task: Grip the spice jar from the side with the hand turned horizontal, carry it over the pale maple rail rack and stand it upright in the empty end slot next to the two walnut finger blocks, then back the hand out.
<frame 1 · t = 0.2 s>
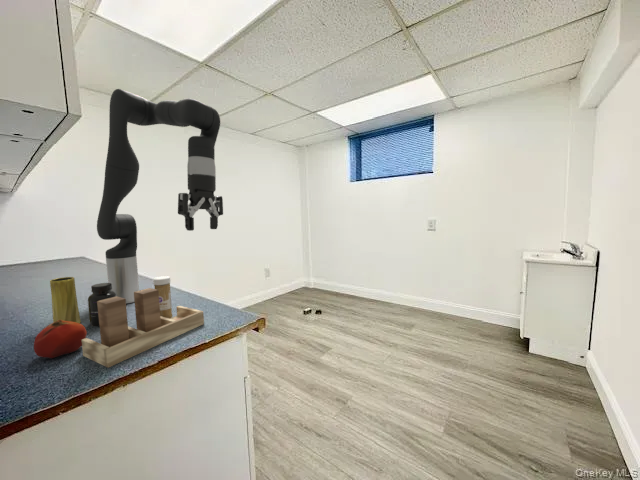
hand: (202, 229, 78), 29 cm above the table, tool pointing down, fingers open, 8 cm apart
supplement bottle: (104, 323, 81), on the table
spice jar: (164, 319, 84), on the table
tomato: (63, 354, 63), on the table
rail rack: (149, 337, 71), on the table
vase: (67, 325, 79), on the table
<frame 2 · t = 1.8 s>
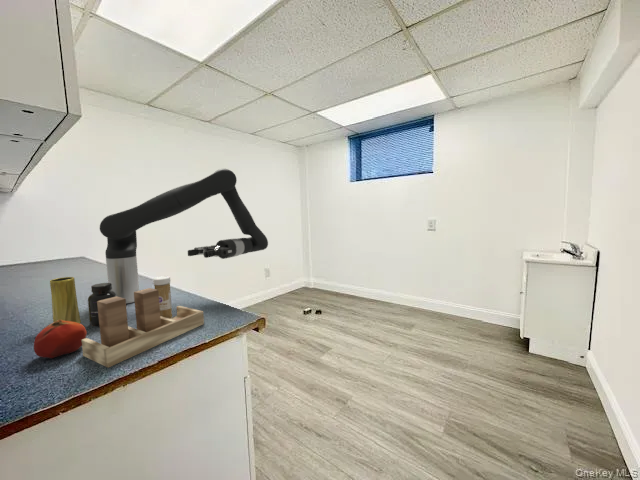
hand: (196, 254, 93), 19 cm above the table, tool horizontal, fingers open, 8 cm apart
nothing on the table moved.
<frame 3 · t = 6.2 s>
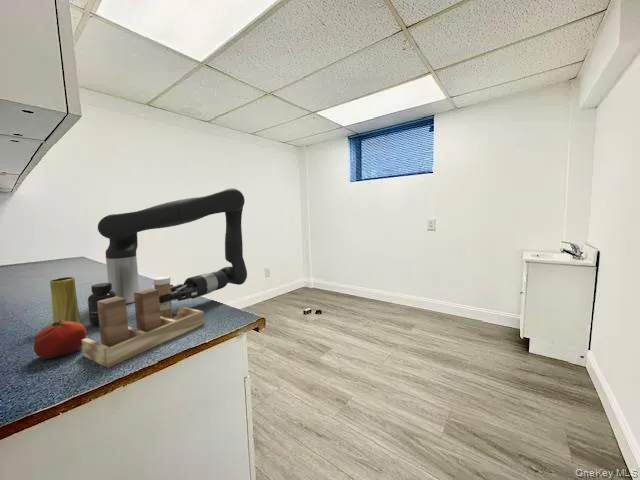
hand: (154, 299, 81), 7 cm above the table, tool horizontal, fingers closed on spice jar, 4 cm apart
spice jar: (164, 318, 84), on the table, touching gripper
everything else where it was.
when the fingers open (9 cm above the table, at t = 10.8 s): spice jar drops 1 cm, resting on rail rack.
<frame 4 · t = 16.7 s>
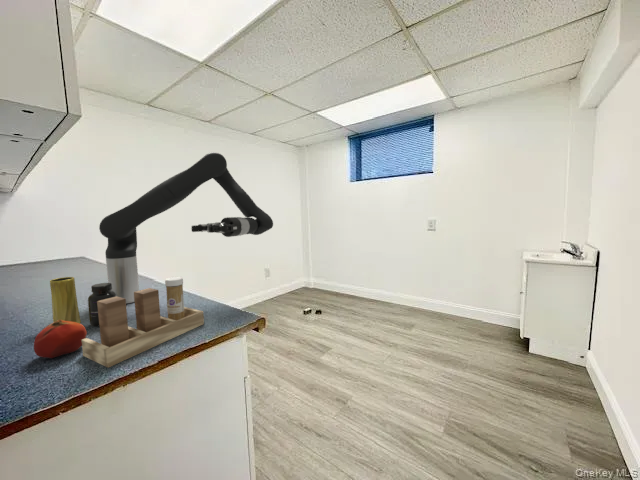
hand: (200, 229, 90), 28 cm above the table, tool horizontal, fingers open, 8 cm apart
spice jar: (176, 322, 78), point 1 cm above the table, touching rail rack
everything else where it was.
at the end: spice jar 0.3 cm from the target spot, point 0.9 cm above the table; spice jar tilted 0°; the gripper is holding nothing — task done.
